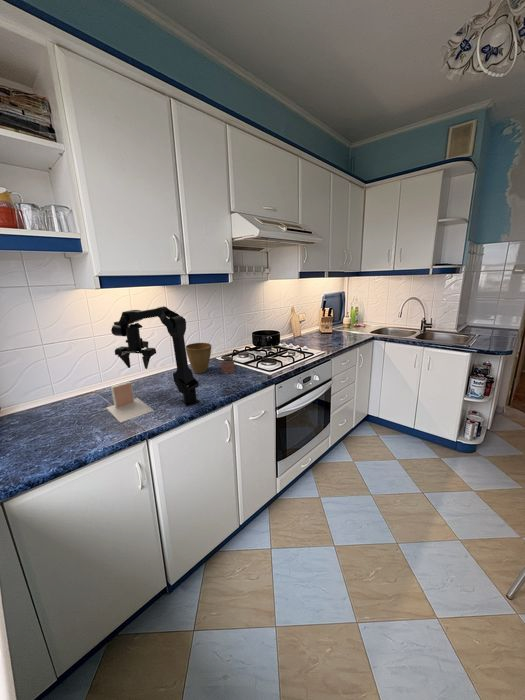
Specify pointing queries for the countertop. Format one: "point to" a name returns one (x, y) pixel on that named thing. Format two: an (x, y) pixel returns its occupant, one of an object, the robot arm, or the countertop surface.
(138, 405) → the beige board
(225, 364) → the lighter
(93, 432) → the countertop surface
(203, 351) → the plant pot
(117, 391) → the tile
